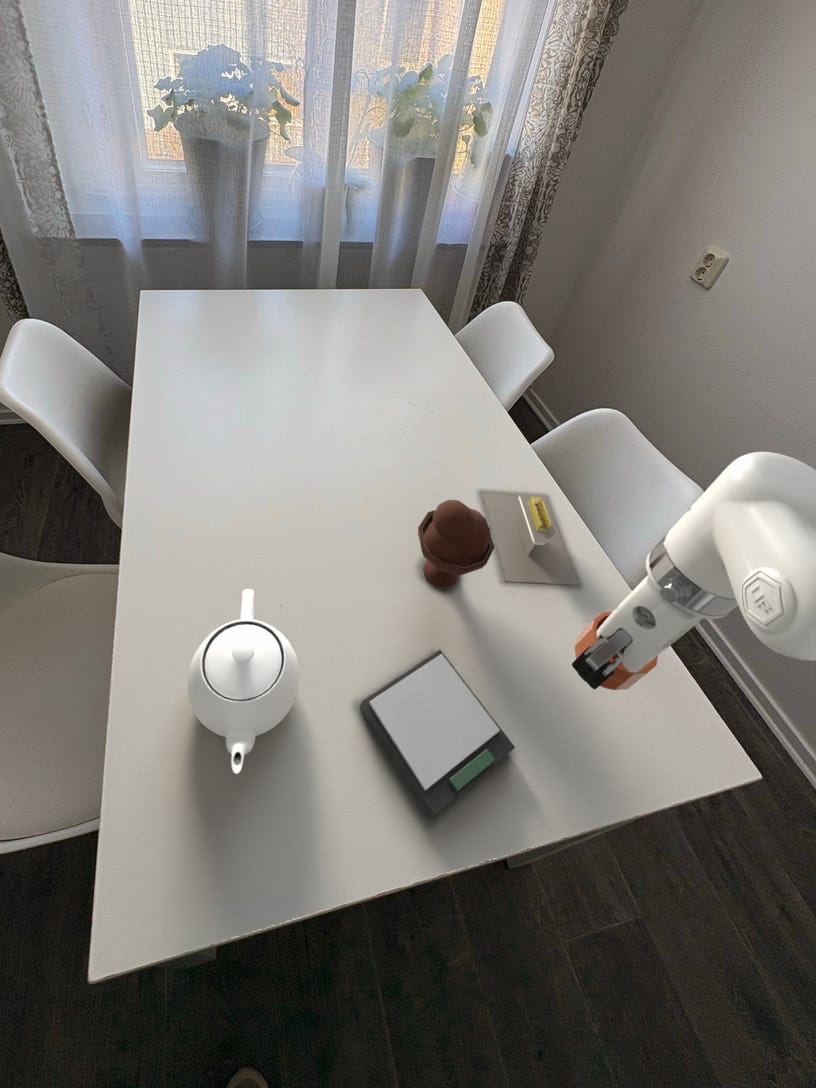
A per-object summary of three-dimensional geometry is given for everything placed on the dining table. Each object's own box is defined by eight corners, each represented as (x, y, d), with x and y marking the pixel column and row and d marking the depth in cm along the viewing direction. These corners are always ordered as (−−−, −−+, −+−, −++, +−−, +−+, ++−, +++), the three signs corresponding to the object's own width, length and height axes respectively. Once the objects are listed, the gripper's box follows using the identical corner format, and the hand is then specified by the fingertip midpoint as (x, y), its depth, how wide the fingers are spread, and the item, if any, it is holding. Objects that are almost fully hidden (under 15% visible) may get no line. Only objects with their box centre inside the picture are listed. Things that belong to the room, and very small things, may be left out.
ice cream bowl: (413, 605, 78) (437, 547, 68) (401, 542, 86) (421, 482, 76) (482, 604, 80) (516, 547, 69) (464, 542, 87) (492, 483, 77)
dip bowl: (647, 672, 59) (671, 652, 56) (609, 704, 56) (632, 686, 53) (597, 622, 63) (617, 601, 60) (559, 650, 60) (578, 629, 57)
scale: (508, 753, 65) (517, 745, 63) (429, 820, 60) (435, 813, 57) (435, 656, 73) (441, 646, 71) (359, 707, 67) (362, 698, 65)
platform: (546, 497, 97) (560, 473, 92) (578, 584, 84) (597, 562, 79) (482, 493, 96) (493, 468, 91) (505, 581, 83) (519, 557, 78)
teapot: (199, 613, 74) (193, 571, 67) (297, 612, 76) (301, 571, 68) (176, 797, 59) (164, 770, 51) (299, 791, 60) (305, 764, 53)
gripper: (681, 656, 41) (583, 732, 53) (786, 563, 48) (679, 649, 61) (602, 580, 45) (528, 668, 57) (710, 507, 53) (624, 598, 65)
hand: (606, 658), depth 59 cm, fingers closed on dip bowl, 7 cm apart
